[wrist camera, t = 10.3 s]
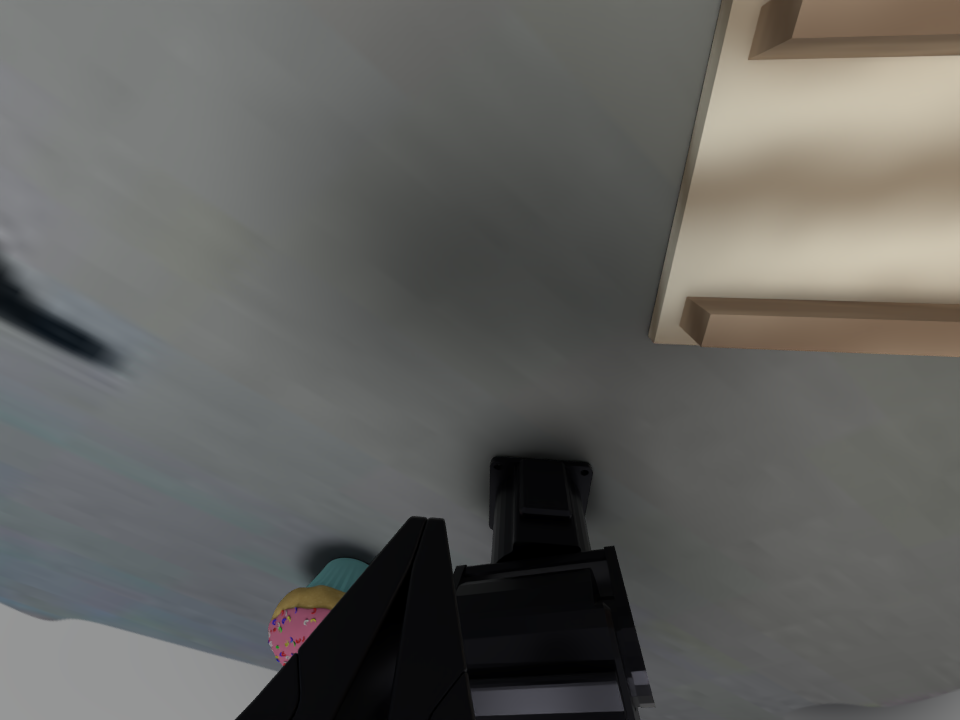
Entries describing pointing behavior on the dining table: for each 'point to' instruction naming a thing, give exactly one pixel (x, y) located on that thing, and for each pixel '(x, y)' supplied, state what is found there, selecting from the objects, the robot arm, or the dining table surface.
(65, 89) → the dining table surface
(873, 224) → the bay
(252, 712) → the robot arm
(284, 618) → the cupcake
